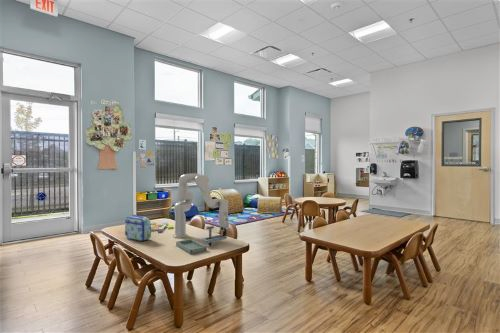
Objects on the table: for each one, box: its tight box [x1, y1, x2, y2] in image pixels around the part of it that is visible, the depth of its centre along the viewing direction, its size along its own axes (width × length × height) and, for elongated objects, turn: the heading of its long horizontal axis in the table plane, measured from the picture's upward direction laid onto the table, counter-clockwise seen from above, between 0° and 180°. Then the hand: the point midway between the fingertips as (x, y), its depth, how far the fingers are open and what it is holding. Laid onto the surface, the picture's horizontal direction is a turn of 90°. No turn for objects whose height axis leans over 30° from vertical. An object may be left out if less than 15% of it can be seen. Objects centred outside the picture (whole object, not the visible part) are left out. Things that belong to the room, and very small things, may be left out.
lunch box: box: [124, 214, 152, 242], centre depth 244 cm, size 26×11×21 cm, turn 58°
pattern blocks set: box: [150, 222, 174, 234], centre depth 281 cm, size 38×34×3 cm
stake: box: [206, 225, 215, 247], centre depth 226 cm, size 2×6×16 cm, turn 128°
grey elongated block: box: [201, 230, 228, 244], centre depth 229 cm, size 21×8×7 cm, turn 128°
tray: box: [175, 238, 207, 255], centre depth 219 cm, size 26×13×4 cm, turn 38°
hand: (223, 235), depth 234 cm, fingers closed on grey elongated block, 3 cm apart
